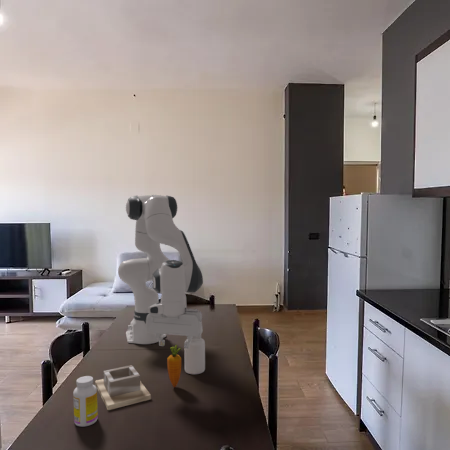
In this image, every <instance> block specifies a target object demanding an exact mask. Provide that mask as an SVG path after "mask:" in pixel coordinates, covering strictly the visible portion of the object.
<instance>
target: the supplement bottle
mask: <svg viewBox="0 0 450 450" xmlns="http://www.w3.org/2000/svg"><path fill="white" fill-rule="evenodd" d="M75 382H76V384H75V385H76V387H75V388H74V389H73V392H72V394H73V395H72V398H73V400H72V401H73V422H74V424H75V426H77V427H89V426H91V425H93V424H95V423H96V422H97V420H98V417H99V413H98V389H97V387H96V385H95V384H94V377H93V376H91V375H85V376H80V377H78V378H77V379H76V381H75Z"/></svg>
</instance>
